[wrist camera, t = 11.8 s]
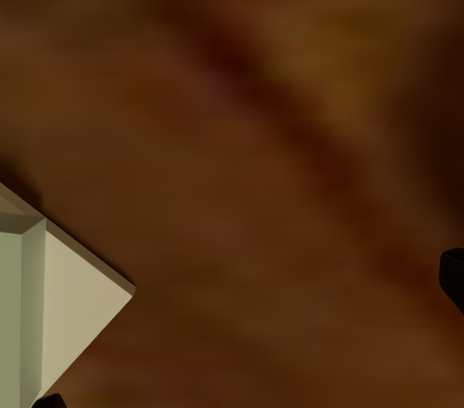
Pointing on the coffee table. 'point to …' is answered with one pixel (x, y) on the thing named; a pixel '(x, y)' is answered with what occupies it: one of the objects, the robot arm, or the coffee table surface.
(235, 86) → the coffee table surface
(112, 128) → the coffee table surface
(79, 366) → the coffee table surface
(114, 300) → the board
